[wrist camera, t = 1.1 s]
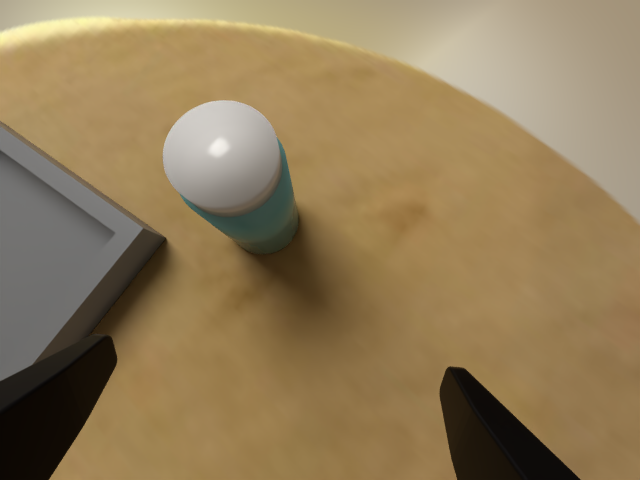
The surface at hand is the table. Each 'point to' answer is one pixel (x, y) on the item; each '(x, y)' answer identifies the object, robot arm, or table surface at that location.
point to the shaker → (233, 174)
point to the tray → (58, 254)
